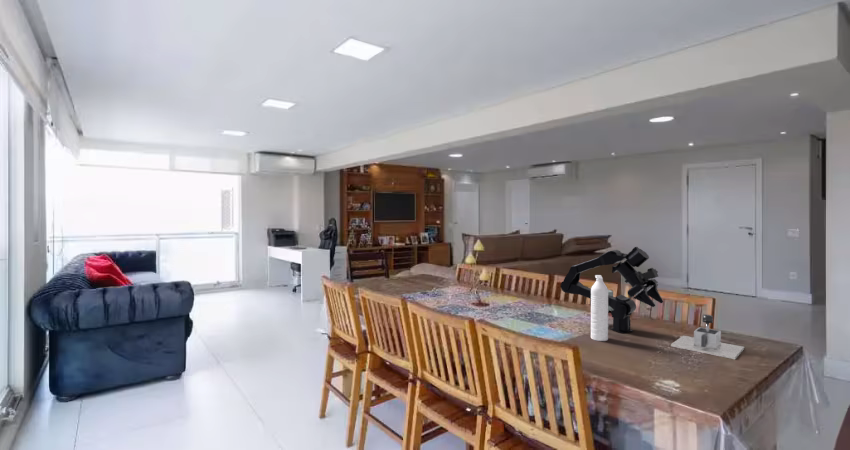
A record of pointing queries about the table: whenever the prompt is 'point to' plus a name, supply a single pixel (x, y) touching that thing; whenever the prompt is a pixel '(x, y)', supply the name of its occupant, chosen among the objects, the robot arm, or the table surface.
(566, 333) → the table surface
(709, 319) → the plunger
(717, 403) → the table surface
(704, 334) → the white socket holder tray
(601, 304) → the water bottle
